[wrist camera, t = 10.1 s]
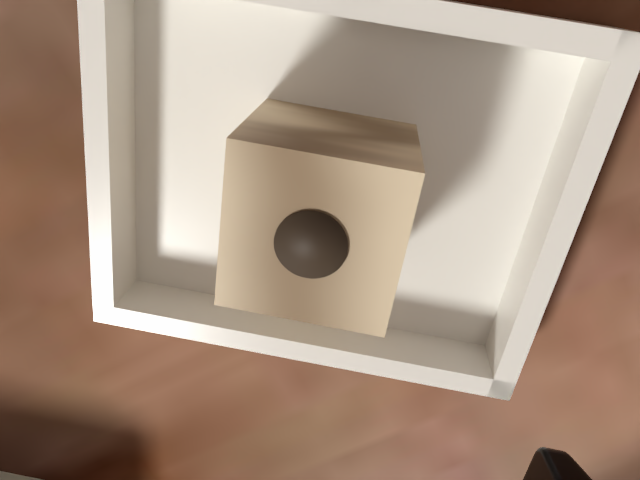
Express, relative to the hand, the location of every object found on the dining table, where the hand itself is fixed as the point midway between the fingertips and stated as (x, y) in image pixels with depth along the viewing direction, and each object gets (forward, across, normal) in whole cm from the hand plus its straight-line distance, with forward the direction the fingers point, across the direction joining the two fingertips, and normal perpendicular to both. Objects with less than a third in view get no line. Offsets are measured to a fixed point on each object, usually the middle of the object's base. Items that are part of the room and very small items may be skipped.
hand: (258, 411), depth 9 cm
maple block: (+11, 0, 0) cm, 11 cm away
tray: (+12, 0, 0) cm, 12 cm away
